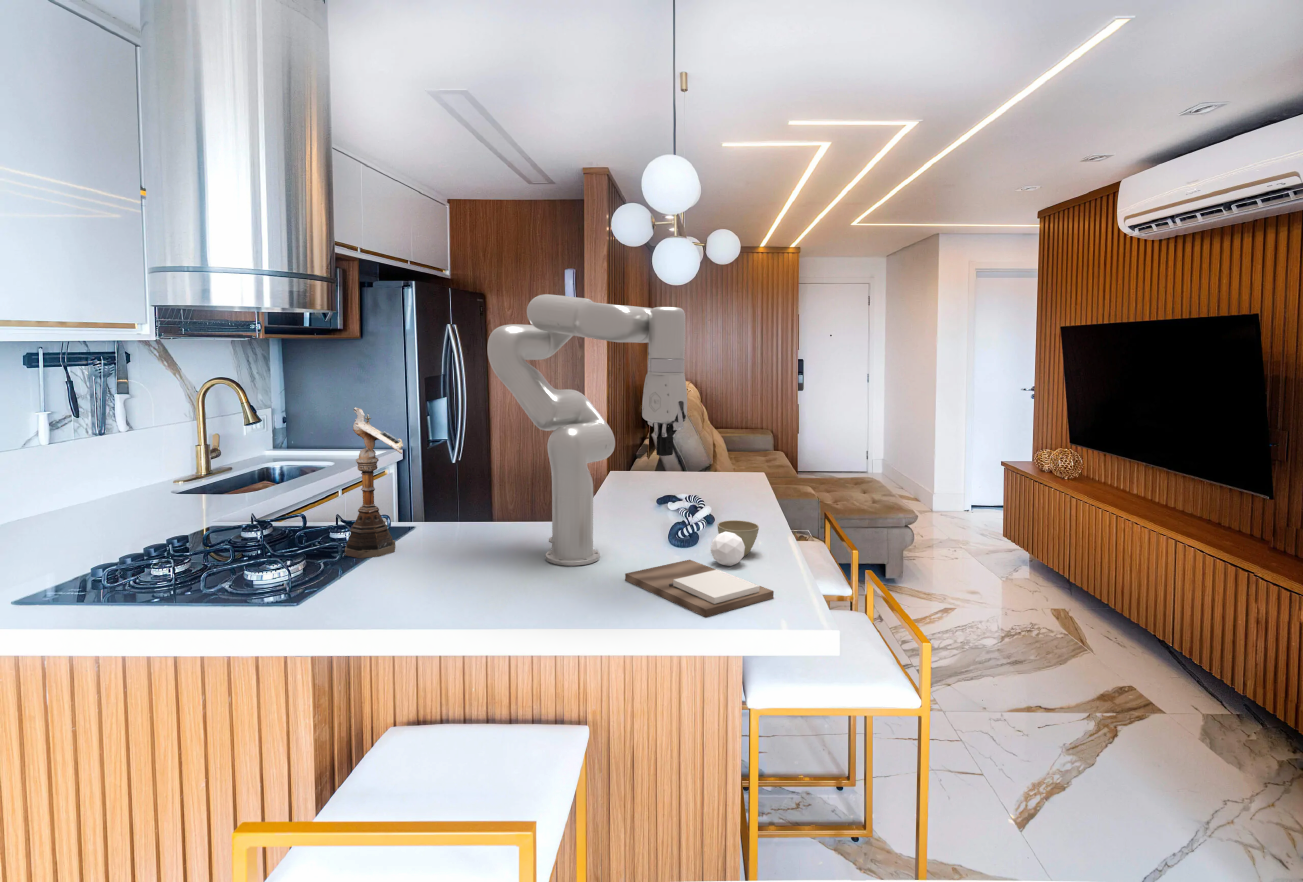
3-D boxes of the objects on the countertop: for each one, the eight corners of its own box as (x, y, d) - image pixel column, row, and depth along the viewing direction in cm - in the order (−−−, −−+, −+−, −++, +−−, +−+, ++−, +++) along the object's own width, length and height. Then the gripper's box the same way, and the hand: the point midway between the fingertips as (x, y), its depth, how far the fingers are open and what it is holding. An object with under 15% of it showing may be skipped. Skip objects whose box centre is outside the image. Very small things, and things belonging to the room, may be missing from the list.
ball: (734, 578, 166) (744, 557, 161) (702, 563, 167) (711, 542, 162) (743, 554, 172) (753, 533, 166) (712, 541, 173) (721, 519, 167)
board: (625, 580, 155) (625, 571, 154) (689, 565, 166) (689, 557, 165) (705, 617, 134) (706, 606, 134) (773, 598, 145) (773, 588, 145)
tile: (714, 597, 136) (714, 604, 137) (759, 585, 144) (759, 592, 144) (673, 579, 146) (673, 586, 146) (717, 569, 153) (717, 575, 154)
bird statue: (417, 539, 184) (413, 402, 180) (417, 553, 172) (413, 406, 167) (346, 544, 179) (341, 403, 175) (342, 559, 167) (335, 407, 162)
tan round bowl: (711, 556, 173) (712, 527, 172) (723, 546, 182) (724, 518, 181) (752, 561, 170) (753, 532, 169) (762, 551, 179) (763, 522, 178)
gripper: (630, 366, 154) (629, 452, 156) (674, 368, 142) (673, 461, 144) (658, 366, 158) (657, 449, 160) (703, 368, 146) (701, 458, 149)
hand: (664, 454), depth 152 cm, fingers closed
